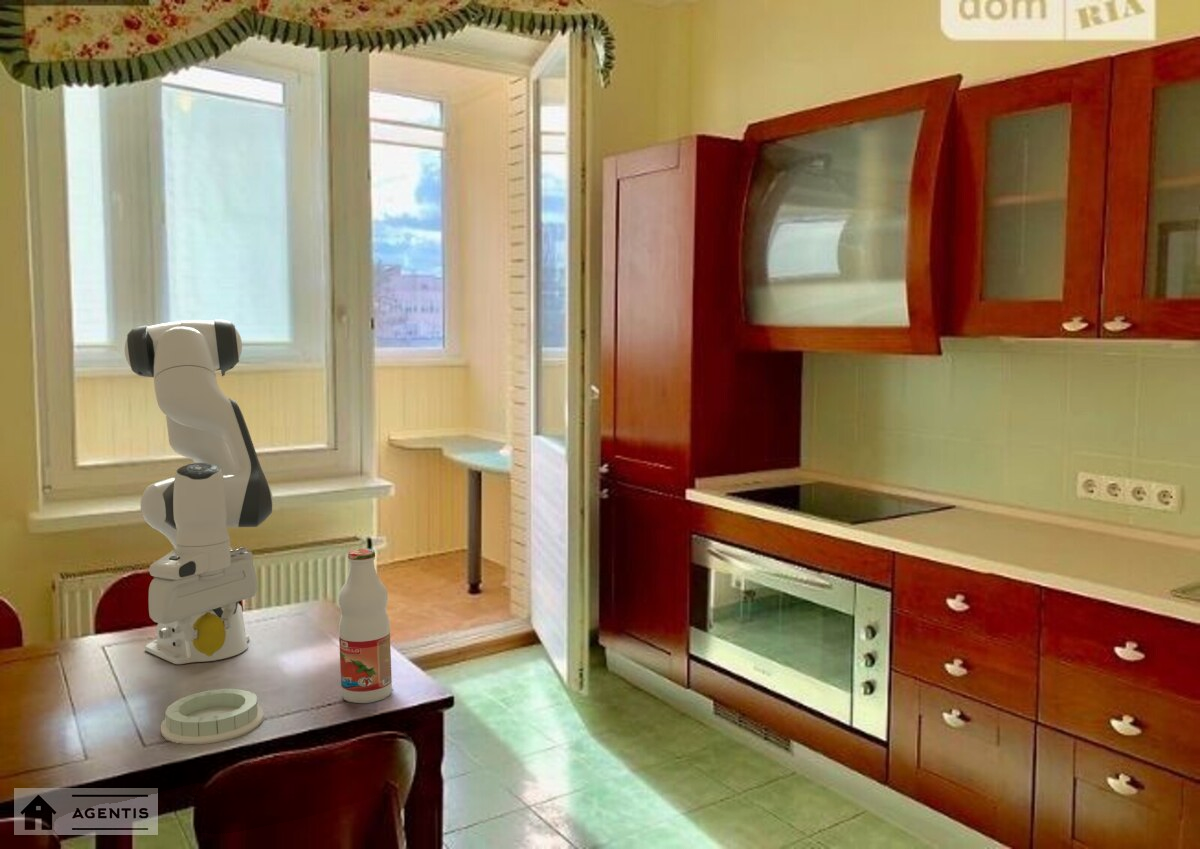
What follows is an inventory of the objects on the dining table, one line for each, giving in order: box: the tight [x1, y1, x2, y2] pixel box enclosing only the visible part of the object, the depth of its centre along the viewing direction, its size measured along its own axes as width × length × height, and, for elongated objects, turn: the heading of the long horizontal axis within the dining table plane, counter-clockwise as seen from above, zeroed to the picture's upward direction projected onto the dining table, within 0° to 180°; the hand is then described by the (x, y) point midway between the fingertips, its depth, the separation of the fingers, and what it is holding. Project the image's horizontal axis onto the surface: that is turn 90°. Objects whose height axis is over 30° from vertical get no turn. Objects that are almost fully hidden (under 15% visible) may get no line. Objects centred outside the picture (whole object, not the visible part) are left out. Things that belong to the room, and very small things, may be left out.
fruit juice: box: [338, 548, 393, 704], centre depth 184 cm, size 9×9×28 cm
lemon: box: [192, 612, 226, 656], centre depth 171 cm, size 6×6×8 cm
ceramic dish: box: [160, 688, 265, 745], centre depth 172 cm, size 17×17×4 cm
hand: (208, 634), depth 171 cm, fingers closed on lemon, 6 cm apart
